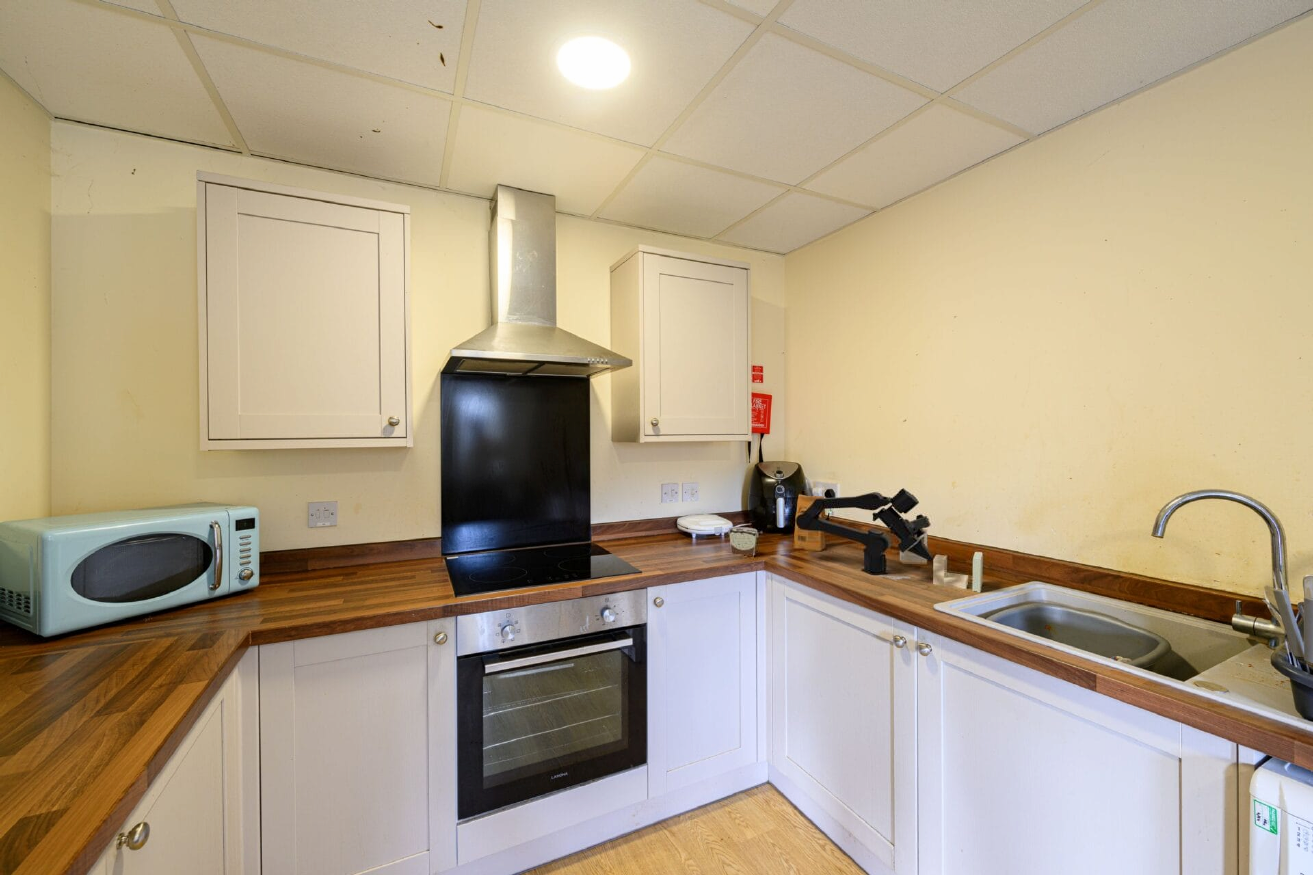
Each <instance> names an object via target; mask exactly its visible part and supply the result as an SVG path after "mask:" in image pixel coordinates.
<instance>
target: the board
mask: <svg viewBox="0 0 1313 875" xmlns="http://www.w3.org/2000/svg"><path fill="white" fill-rule="evenodd" d="M983 558H984V556H983V552H981V551H975V552H974V554H973V557H972V591H971V592H973V591H977V592H976V593H981V591H982V586H983V562H984V560H983Z"/></svg>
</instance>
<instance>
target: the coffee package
mask: <svg viewBox="0 0 1313 875" xmlns="http://www.w3.org/2000/svg"><path fill="white" fill-rule="evenodd" d="M818 498H825V495H823V496H822V495H820V496H819V495H818V496H817V495H816V496H814V495H813V496H809V495H804V494H798V499H797V505H796V513H795V519H796V518H797V517H798V516H799V515H800V514H803V513H804V512H805V511H806V510H807V509H808V508H809V507H810V506H811V505H812V504H813V502H814V501H815V500H816V499H818ZM819 516H820V517H821V518H823V519H824V520H826V509H823V511H822V512H821V514H820V515H819ZM794 524H795V526H794V533H793V543H794V544H793V546H794V547H793V548H794V549H795V548H796V549H797V550H798V549H799V550H800V549H801V550H805V551H808V550H809V551H811V552H821V551H822V550H824V549H825V548H826V538H825V532H823V531H810V530H802V529H800V528H798V526H797V524H796V521H795V522H794ZM796 549H795V550H796ZM809 551H808V552H809Z"/></svg>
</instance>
